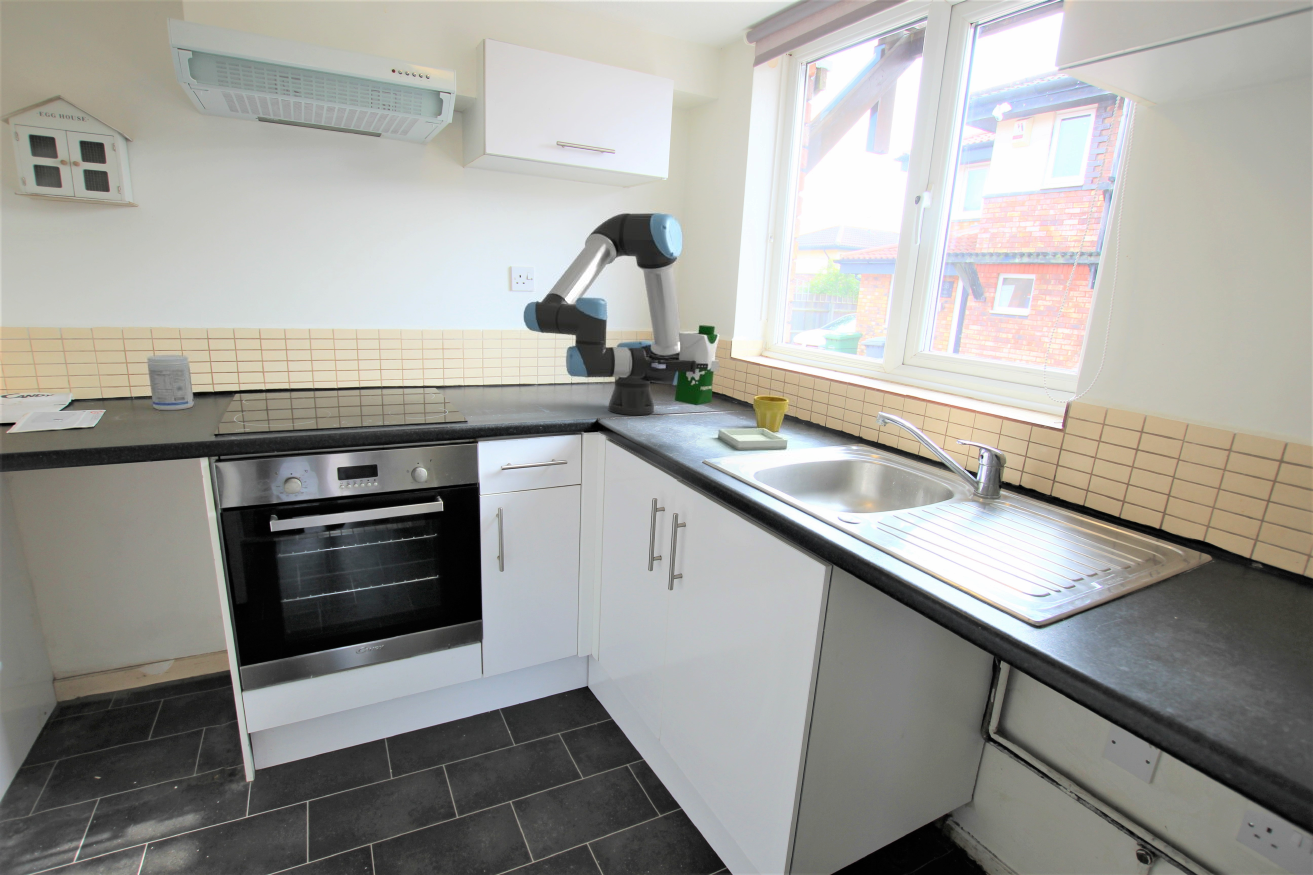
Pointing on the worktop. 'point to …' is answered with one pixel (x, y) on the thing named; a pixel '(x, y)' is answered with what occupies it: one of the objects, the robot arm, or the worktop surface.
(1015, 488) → the worktop surface
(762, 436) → the sage tray
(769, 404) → the plant pot
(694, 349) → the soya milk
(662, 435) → the worktop surface
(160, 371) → the supplement tub
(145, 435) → the worktop surface
